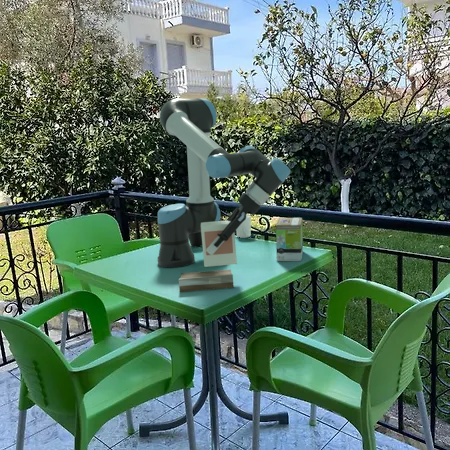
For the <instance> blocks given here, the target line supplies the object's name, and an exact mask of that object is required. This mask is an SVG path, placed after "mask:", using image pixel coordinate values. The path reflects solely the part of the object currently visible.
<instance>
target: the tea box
mask: <svg viewBox="0 0 450 450" xmlns="http://www.w3.org/2000/svg"><path fill="white" fill-rule="evenodd" d="M275 237H276V238H275V239H276V243H275V244H276V261H277V262H301V261H302V258H303V252H304V238H303V237H304V236H303V217H279V218H278V219H277V222H276V224H275Z"/></svg>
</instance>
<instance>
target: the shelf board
mask: <svg viewBox="0 0 450 450" xmlns="http://www.w3.org/2000/svg"><path fill="white" fill-rule="evenodd" d="M178 286H179V287H178V288H179V289H178V290H179V292H180V293H185V292H196V291H197V292H198V291H209V290H210V291H211V290H223V289H234V275H233V273H232V269H220V270H219V269H218V270H207V271H206V270H205V271H196V272H183V273H181V275H180V278H178Z"/></svg>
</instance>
